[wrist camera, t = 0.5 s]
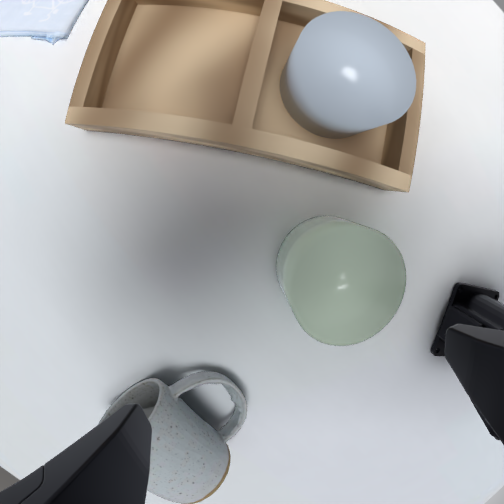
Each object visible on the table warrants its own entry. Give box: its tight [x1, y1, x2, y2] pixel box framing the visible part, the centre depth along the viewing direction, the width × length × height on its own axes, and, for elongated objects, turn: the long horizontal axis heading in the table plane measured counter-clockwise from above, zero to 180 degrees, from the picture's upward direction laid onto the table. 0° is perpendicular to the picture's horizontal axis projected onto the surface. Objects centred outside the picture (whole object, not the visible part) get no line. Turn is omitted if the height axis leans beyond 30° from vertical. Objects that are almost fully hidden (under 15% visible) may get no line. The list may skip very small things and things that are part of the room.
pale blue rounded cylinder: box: [280, 11, 416, 139], centre depth 14 cm, size 6×6×5 cm
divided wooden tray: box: [65, 0, 425, 192], centre depth 15 cm, size 20×10×3 cm, turn 78°
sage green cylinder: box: [276, 216, 406, 346], centre depth 17 cm, size 6×6×5 cm
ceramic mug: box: [98, 371, 247, 504], centre depth 18 cm, size 11×8×8 cm
